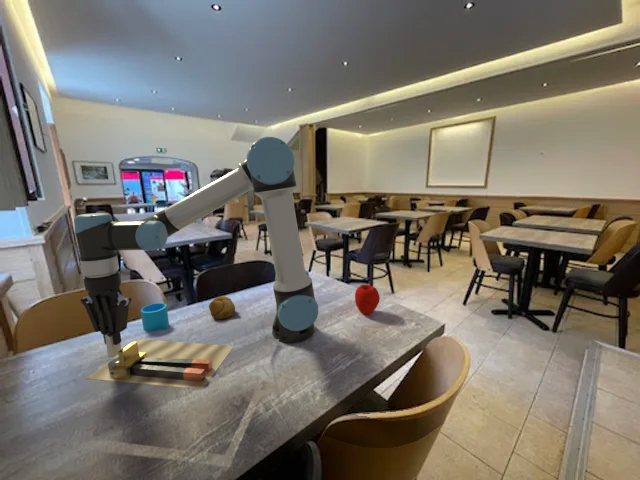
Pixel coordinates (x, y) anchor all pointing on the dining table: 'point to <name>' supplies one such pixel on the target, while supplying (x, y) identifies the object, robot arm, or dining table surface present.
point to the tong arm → (178, 363)
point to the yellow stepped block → (127, 360)
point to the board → (174, 352)
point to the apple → (366, 299)
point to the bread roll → (221, 307)
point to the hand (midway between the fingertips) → (115, 354)
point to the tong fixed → (163, 371)
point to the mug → (155, 317)
